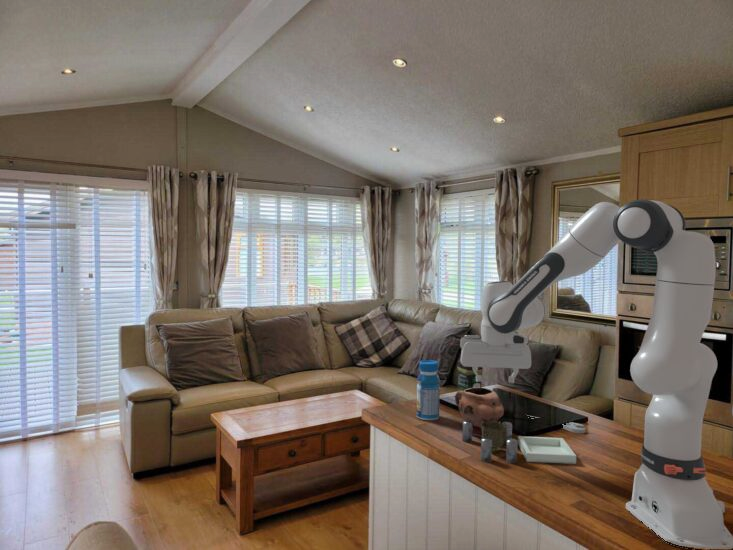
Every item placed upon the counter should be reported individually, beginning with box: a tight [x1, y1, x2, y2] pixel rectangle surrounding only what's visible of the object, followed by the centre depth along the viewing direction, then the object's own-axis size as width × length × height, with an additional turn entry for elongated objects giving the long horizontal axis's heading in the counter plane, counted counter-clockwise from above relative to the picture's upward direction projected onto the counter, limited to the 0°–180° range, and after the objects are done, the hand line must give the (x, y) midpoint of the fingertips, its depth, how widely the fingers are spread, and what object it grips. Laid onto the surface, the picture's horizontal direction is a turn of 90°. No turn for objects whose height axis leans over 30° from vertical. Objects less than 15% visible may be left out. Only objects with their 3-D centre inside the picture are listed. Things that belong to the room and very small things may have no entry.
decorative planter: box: [454, 387, 505, 437], centre depth 165 cm, size 20×12×14 cm, turn 41°
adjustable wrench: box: [526, 414, 586, 434], centre depth 174 cm, size 25×6×2 cm, turn 48°
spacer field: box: [462, 420, 518, 464], centre depth 149 cm, size 17×15×6 cm
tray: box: [517, 435, 577, 465], centre depth 148 cm, size 13×13×2 cm
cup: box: [481, 421, 507, 453], centre depth 149 cm, size 8×7×8 cm
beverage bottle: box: [415, 359, 441, 421], centre depth 179 cm, size 8×8×20 cm
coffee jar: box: [457, 357, 484, 402], centre depth 192 cm, size 10×8×19 cm
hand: (494, 382), depth 148 cm, fingers open, 8 cm apart
